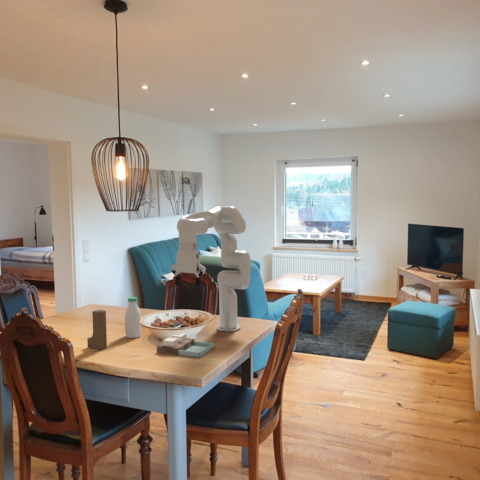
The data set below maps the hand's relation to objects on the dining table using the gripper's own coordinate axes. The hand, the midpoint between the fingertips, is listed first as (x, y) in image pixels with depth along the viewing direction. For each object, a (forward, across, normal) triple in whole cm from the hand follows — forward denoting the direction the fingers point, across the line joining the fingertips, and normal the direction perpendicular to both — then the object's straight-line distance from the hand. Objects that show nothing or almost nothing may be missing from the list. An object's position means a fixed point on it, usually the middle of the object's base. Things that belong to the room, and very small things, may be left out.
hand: (188, 285), depth 203 cm
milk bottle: (+31, +40, -15) cm, 53 cm away
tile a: (+28, +10, -9) cm, 31 cm away
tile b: (+28, +10, -1) cm, 30 cm away
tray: (+31, -1, -5) cm, 32 cm away
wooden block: (+31, +45, +7) cm, 55 cm away
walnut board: (+31, +10, -5) cm, 33 cm away
